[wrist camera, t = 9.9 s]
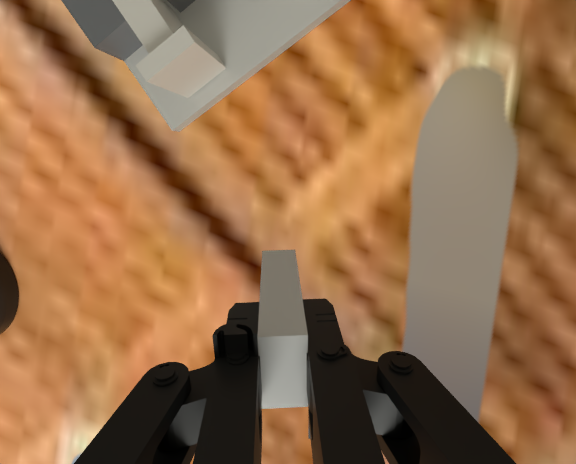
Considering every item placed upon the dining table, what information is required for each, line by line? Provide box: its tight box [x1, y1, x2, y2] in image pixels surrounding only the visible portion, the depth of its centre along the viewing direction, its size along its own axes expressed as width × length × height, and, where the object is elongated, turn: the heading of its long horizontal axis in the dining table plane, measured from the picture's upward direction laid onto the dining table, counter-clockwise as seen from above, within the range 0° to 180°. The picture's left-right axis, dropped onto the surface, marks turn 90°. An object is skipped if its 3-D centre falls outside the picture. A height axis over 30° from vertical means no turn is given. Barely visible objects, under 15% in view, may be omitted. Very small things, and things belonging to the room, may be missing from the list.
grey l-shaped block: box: [112, 0, 226, 98], centre depth 34 cm, size 8×5×9 cm, turn 34°
